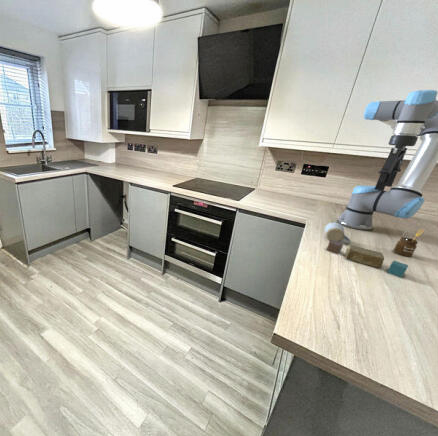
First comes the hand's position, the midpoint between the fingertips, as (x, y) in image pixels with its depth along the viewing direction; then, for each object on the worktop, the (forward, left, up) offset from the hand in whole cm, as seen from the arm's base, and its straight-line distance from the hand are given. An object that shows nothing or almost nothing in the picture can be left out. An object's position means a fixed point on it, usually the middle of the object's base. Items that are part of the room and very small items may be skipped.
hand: (383, 188), depth 100 cm
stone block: (+17, +5, -28) cm, 33 cm away
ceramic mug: (+2, -9, -28) cm, 29 cm away
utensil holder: (-9, +13, -28) cm, 32 cm away
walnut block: (+17, -5, -28) cm, 33 cm away
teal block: (+17, +15, -28) cm, 36 cm away
